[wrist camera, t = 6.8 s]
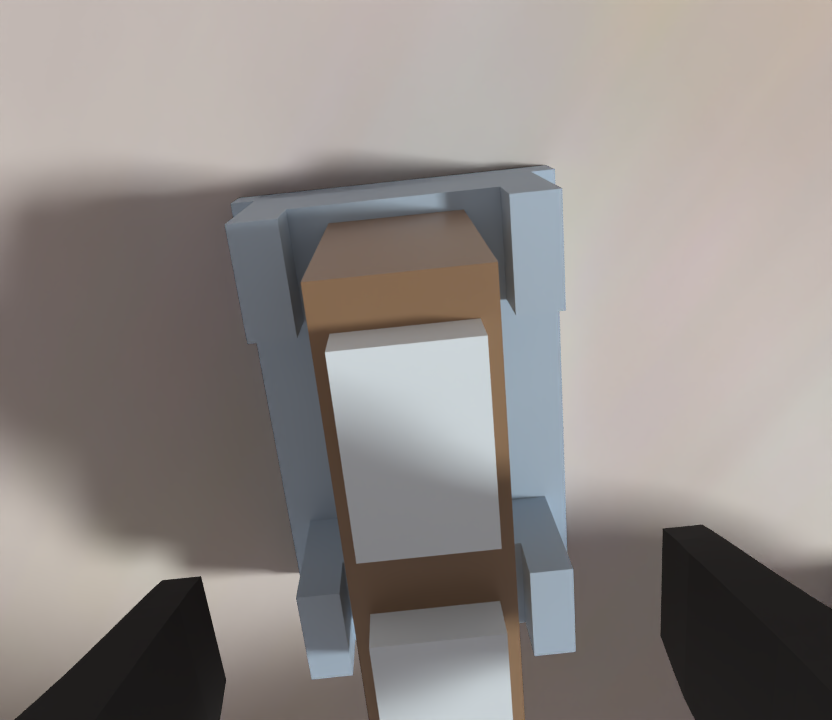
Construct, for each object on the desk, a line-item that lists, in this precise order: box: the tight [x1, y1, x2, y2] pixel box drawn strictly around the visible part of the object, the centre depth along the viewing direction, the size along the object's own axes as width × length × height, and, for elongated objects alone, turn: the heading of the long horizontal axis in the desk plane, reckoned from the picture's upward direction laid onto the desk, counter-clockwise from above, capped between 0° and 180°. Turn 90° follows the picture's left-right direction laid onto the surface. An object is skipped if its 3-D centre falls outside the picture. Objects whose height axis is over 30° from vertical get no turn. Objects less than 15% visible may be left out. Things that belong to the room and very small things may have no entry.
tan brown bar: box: [301, 209, 525, 720], centre depth 14 cm, size 10×3×6 cm, turn 6°
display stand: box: [225, 165, 576, 679], centre depth 17 cm, size 11×8×4 cm
